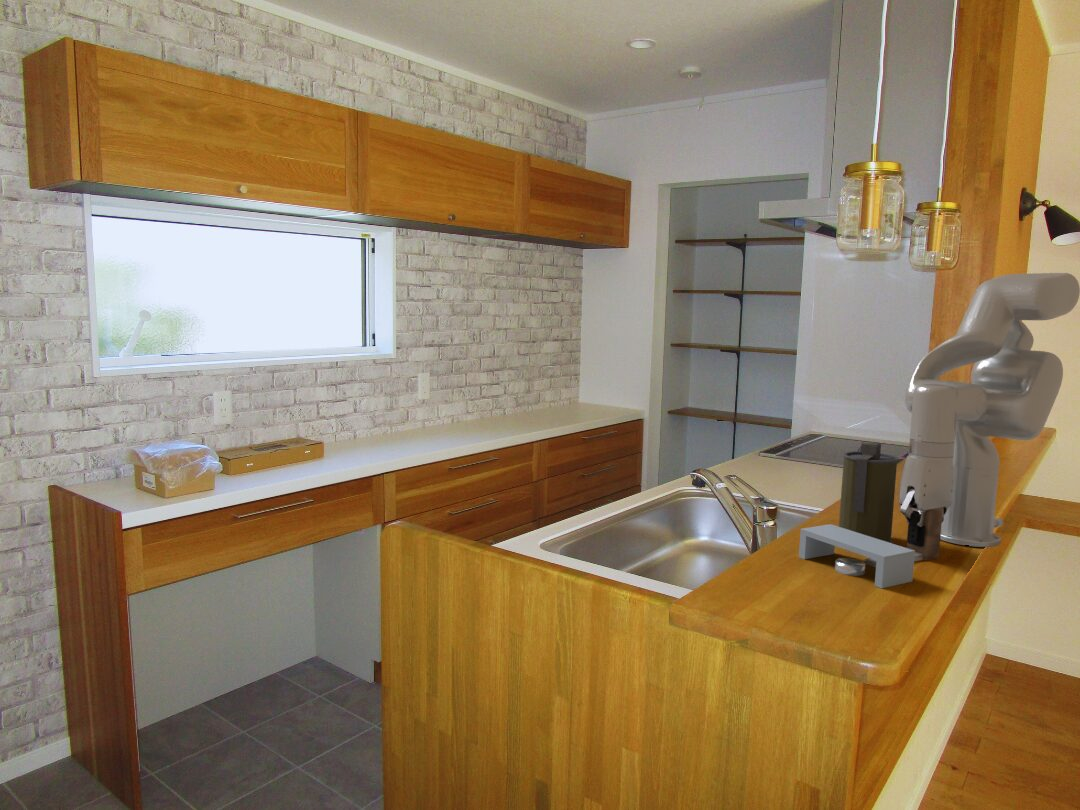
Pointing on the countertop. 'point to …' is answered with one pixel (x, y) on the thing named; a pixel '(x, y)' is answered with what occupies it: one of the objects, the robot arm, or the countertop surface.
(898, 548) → the shelf
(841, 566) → the token
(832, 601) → the countertop surface
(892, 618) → the countertop surface
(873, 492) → the canister
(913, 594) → the countertop surface
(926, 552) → the pusher
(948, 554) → the countertop surface
